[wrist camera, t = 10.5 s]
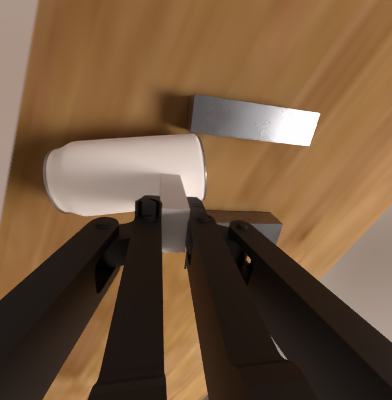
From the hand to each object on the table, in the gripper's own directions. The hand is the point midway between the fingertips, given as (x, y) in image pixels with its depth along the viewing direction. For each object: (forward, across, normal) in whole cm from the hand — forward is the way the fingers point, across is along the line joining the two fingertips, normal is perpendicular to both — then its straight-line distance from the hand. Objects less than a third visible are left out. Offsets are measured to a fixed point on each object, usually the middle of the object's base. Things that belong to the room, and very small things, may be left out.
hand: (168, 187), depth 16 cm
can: (+3, +3, +1) cm, 4 cm away
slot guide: (+6, +8, 0) cm, 10 cm away
